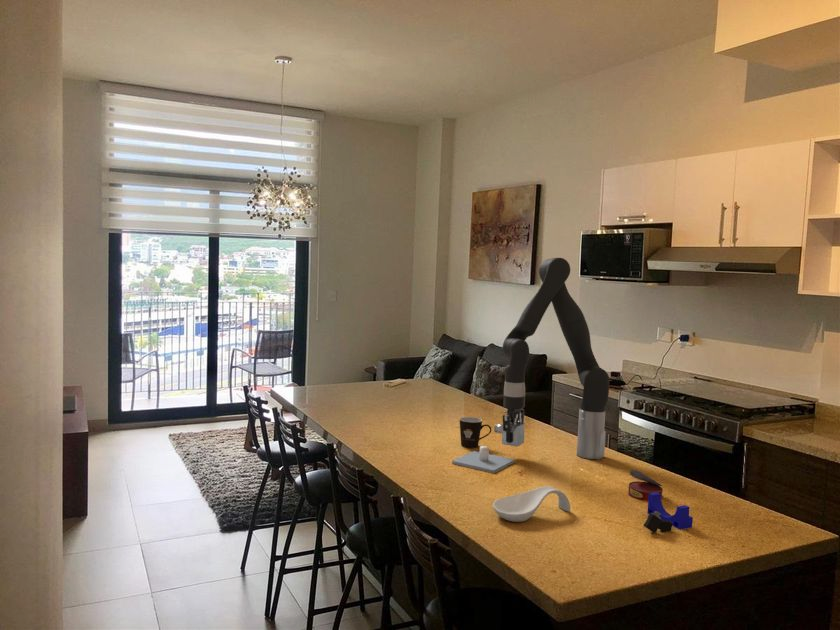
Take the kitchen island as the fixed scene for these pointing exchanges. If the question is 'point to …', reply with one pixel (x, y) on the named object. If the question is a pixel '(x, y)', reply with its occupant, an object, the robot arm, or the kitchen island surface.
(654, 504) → the cable clip
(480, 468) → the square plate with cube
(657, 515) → the black notched bracket
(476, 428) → the coffee mug
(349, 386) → the kitchen island surface
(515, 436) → the cube on steel peg
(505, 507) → the spoon rest
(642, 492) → the canned food
